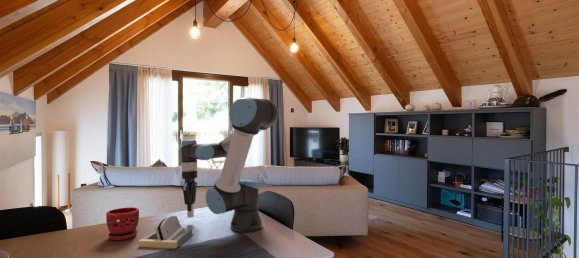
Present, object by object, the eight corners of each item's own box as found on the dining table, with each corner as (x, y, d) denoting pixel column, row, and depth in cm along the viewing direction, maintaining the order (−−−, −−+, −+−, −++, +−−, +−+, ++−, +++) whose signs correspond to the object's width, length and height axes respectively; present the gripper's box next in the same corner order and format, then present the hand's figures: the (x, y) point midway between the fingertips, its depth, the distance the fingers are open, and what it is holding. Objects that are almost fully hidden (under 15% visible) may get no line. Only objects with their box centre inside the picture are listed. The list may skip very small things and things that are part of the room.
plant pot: (144, 236, 144) (143, 209, 144) (112, 244, 134) (112, 216, 134) (132, 229, 153) (132, 204, 153) (102, 236, 143) (101, 210, 143)
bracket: (192, 234, 146) (192, 229, 145) (175, 248, 130) (175, 242, 130) (159, 233, 147) (159, 227, 147) (138, 246, 132) (138, 240, 131)
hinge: (170, 244, 134) (162, 222, 134) (160, 248, 134) (152, 226, 134) (185, 231, 150) (178, 211, 150) (176, 234, 151) (169, 214, 151)
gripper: (188, 168, 168) (189, 213, 168) (176, 172, 155) (177, 220, 155) (201, 168, 167) (202, 213, 167) (191, 172, 154) (192, 221, 155)
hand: (190, 216), depth 161 cm, fingers closed
